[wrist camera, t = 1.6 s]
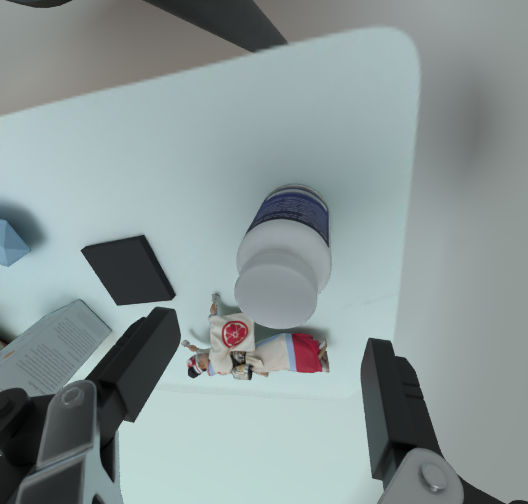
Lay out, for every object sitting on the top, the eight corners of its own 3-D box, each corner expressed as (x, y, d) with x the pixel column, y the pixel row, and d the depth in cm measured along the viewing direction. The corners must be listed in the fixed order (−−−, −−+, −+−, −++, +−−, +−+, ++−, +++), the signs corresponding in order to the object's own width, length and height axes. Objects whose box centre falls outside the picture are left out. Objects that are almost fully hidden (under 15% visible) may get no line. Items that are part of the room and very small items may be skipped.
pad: (86, 246, 27) (80, 250, 26) (144, 235, 25) (138, 239, 24) (121, 301, 30) (117, 305, 29) (175, 295, 28) (172, 300, 27)
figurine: (323, 287, 25) (167, 296, 27) (331, 386, 23) (164, 387, 25) (319, 291, 31) (191, 298, 33) (325, 370, 29) (190, 372, 31)
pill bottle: (251, 191, 21) (202, 259, 12) (323, 175, 19) (321, 241, 11) (270, 252, 23) (239, 342, 15) (335, 242, 21) (341, 337, 13)
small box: (76, 345, 36) (-5, 427, 28) (43, 315, 34) (-56, 394, 25) (114, 331, 33) (36, 420, 24) (80, 297, 31) (-18, 381, 22)
